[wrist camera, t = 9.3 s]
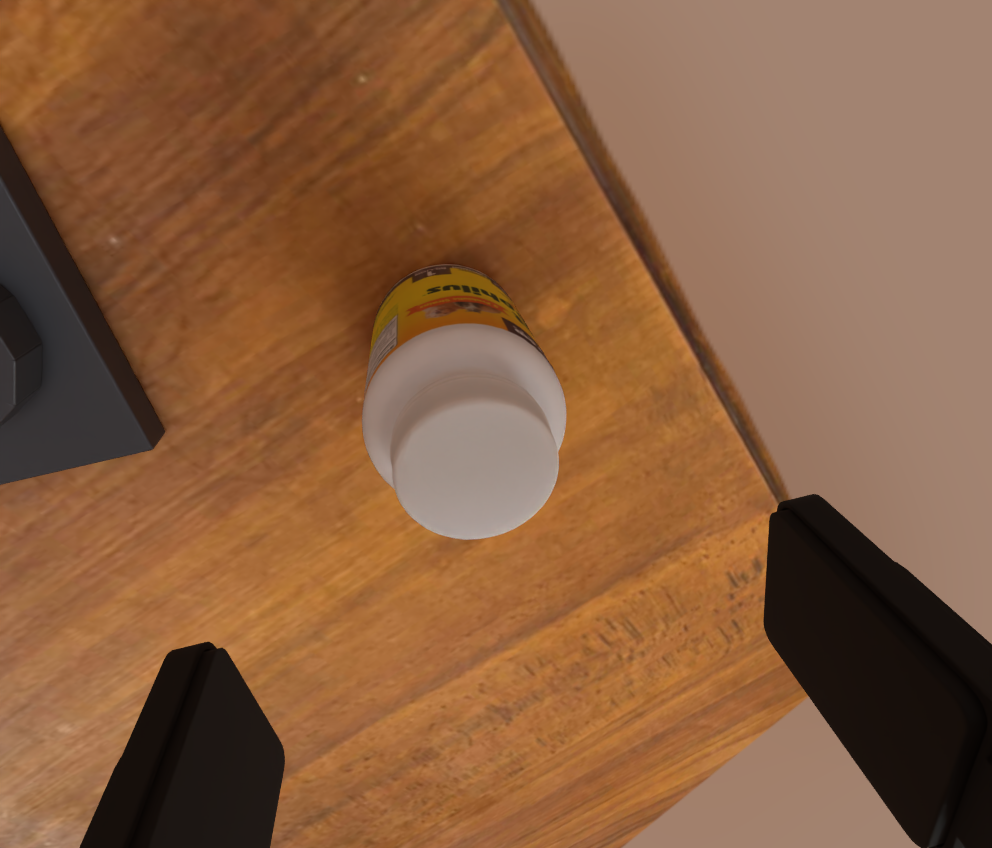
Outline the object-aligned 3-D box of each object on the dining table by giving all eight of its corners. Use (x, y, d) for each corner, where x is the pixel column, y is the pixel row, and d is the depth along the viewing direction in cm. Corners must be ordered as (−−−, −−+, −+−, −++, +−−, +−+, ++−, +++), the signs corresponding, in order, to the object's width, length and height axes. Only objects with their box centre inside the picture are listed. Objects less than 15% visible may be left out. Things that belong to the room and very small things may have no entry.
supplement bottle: (543, 302, 22) (640, 427, 14) (473, 417, 24) (517, 593, 15) (413, 229, 20) (426, 320, 12) (348, 360, 22) (316, 525, 13)
